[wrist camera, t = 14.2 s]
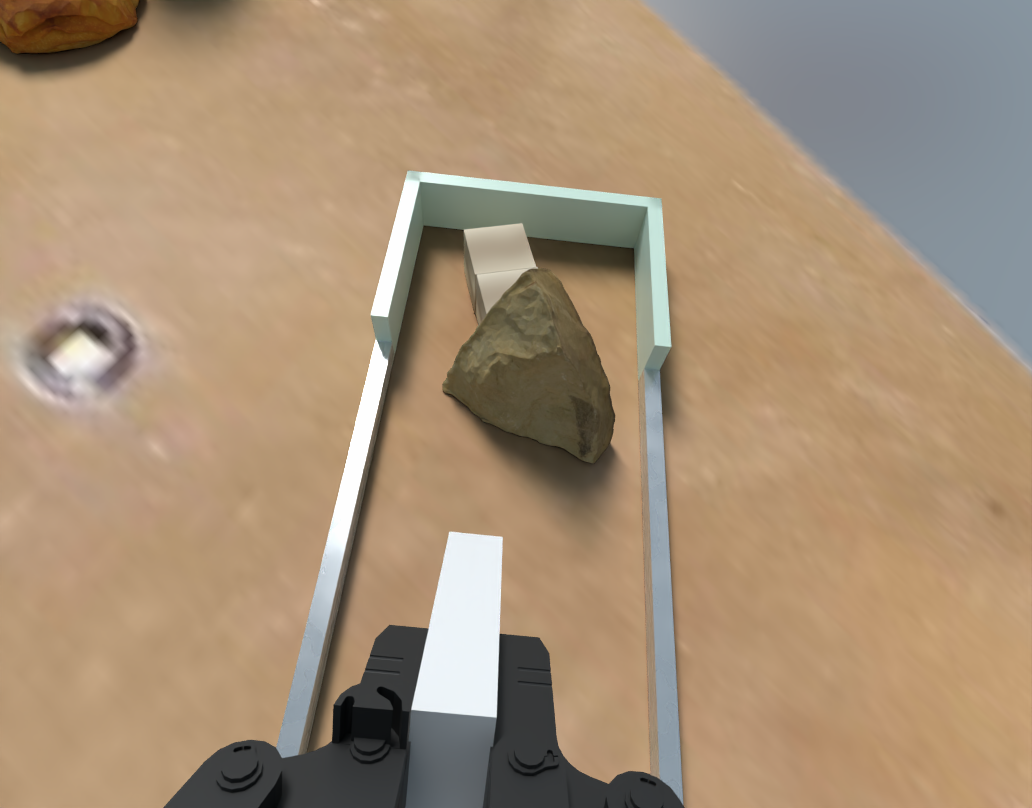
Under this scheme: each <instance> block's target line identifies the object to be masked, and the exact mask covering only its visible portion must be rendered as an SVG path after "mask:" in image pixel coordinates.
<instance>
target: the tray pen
mask: <svg viewBox="0 0 1032 808" xmlns="http://www.w3.org/2000/svg"><path fill="white" fill-rule="evenodd" d="M520 223H522V224H523V227H524V230H525V233H526V236H527V237H534V238H543V239H553V240H562V241H571V242H580V243H589V244H598V245H607V246H617V247H626V248H634V263H635V295H636V326H637V358H638V380H639V378H640V376H641V374H642V372H643V370H644V368H645V369H655V370H660V368H661V366H662V364H663V362H664V360H665V358H666V356H667V354H668V353H669V351H670V349H671V335H670V320H669V306H668V291H667V276H666V261H665V246H664V232H663V217H662V202H661V199H660V198H651V197H642V196H633V195H624V194H615V193H606V192H597V191H588V190H579V189H570V188H561V187H552V186H543V185H534V184H525V183H516V182H507V181H498V180H489V179H480V178H471V177H462V176H453V175H444V174H435V173H426V172H417V171H408V172H407V176H406V180H405V184H404V188H403V192H402V196H401V199H400V203H399V207H398V211H397V215H396V219H395V223H394V227H393V230H392V234H391V238H390V242H389V246H388V250H387V254H386V258H385V262H384V265H383V269H382V273H381V277H380V281H379V285H378V289H377V293H376V296H375V300H374V304H373V308H372V312H371V319H372V323H373V328H374V332H375V337H376V340H378V341H388V342H392V344H393V349H394V355H395V352H396V347H397V343H398V338H399V334H400V329H401V325H402V320H403V316H404V311H405V307H406V302H407V298H408V293H409V289H410V284H411V280H412V275H413V271H414V266H415V262H416V257H417V253H418V248H419V244H420V239H421V235H422V230H423V226H434V227H443V228H452V229H461V230H464V229H474V228H483V227H492V226H501V225H511V224H520Z"/></svg>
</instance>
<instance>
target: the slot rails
mask: <svg viewBox="0 0 1032 808" xmlns="http://www.w3.org/2000/svg"><path fill="white" fill-rule="evenodd" d="M394 356H395V355H394V349H393V344H392V342H388V341H378V340H376V343H375V347H374V351H373V356H372V360H371V364H370V368H369V372H368V376H367V380H366V384H365V388H364V392H363V396H362V400H361V404H360V409H359V413H358V417H357V421H356V425H355V429H354V433H353V437H352V441H351V445H350V449H349V453H348V458H347V462H346V466H345V470H344V474H343V478H342V482H341V486H340V490H339V494H338V498H337V502H336V507H335V511H334V515H333V519H332V523H331V527H330V531H329V535H328V539H327V543H326V547H325V551H324V556H323V560H322V564H321V568H320V572H319V576H318V580H317V584H316V588H315V592H314V596H313V600H312V604H311V609H310V613H309V617H308V621H307V625H306V629H305V633H304V637H303V641H302V645H301V649H300V653H299V658H298V662H297V666H296V670H295V674H294V678H293V682H292V686H291V690H290V694H289V698H288V702H287V707H286V711H285V715H284V719H283V723H282V727H281V731H280V735H279V739H278V743H277V747H276V749H277V750H278V752H279V753H280V755H281V757H282V758H285V757H291V756H296V755H301V754H305V753H307V748H308V744H309V739H310V735H311V730H312V726H313V721H314V717H315V712H316V708H317V703H318V699H319V694H320V690H321V685H322V681H323V676H324V672H325V667H326V663H327V658H328V654H329V649H330V645H331V640H332V636H333V631H334V627H335V622H336V618H337V613H338V609H339V604H340V600H341V595H342V591H343V586H344V582H345V577H346V573H347V568H348V564H349V559H350V555H351V550H352V546H353V541H354V537H355V532H356V528H357V523H358V519H359V514H360V510H361V505H362V501H363V496H364V491H365V487H366V482H367V478H368V473H369V469H370V464H371V460H372V455H373V451H374V446H375V442H376V437H377V433H378V428H379V424H380V419H381V415H382V410H383V406H384V401H385V397H386V392H387V388H388V383H389V379H390V374H391V370H392V365H393V361H394ZM638 390H639V422H640V453H641V485H642V516H643V548H644V579H645V611H646V642H647V674H648V705H649V737H650V768H651V775H652V776H655V777H657V778H659V779H660V780H662V781H663V782H664V783H666V784H667V785H668V786H670V787H671V789H672V790H673V791H674V792H675V794H676V795H677V796H678V798H679V799H680V801H681V802H682V804H683V792H682V773H681V755H680V736H679V718H678V700H677V681H676V663H675V644H674V626H673V607H672V589H671V570H670V552H669V533H668V515H667V496H666V478H665V459H664V441H663V423H662V404H661V386H660V370H655V369H645V368H644V370H643V372H642V374H641V376H640V378H639V380H638Z"/></svg>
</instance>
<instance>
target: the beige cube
mask: <svg viewBox="0 0 1032 808" xmlns="http://www.w3.org/2000/svg"><path fill="white" fill-rule="evenodd" d="M535 267H536V265H535V262H534V258H533V255H532V252H531V249H530V246H529V243H528V240H527V236H526V233H525V230H524V227H523V224H522V223H520V224H511V225H501V226H492V227H483V228H474V229H464V273H465V277H466V281H467V285H468V289H469V293H470V297H471V302H472V306H473V310H474V314H476V279H477V274H485V273H494V272H502V271H510V270H518V269H526V268H535Z"/></svg>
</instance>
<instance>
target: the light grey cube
mask: <svg viewBox="0 0 1032 808" xmlns="http://www.w3.org/2000/svg"><path fill="white" fill-rule="evenodd" d="M535 268H536V269H537V268H538V267H535ZM529 269H532V268H526V269H518V270H510V271H502V272H494V273H485V274H477V279H476V316H477V321H478V325H480V323H481V322H482V321H483V319H484V318H485V316H486V314H487V313H488V311H489V310H490V309H491V307H492V306H493V305H494V304H495V303H496V302H497V301H498V300H499V299H500V298H501V296H502V295H503V293H504V292H505V291H506V290H508V289H509V288H510V287H511V286H512V285H513V284H514V283H515V282H516V281H517V279H518V278H519V277H520V275H521V274H522V273H524V272H525V271H527V270H529Z"/></svg>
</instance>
